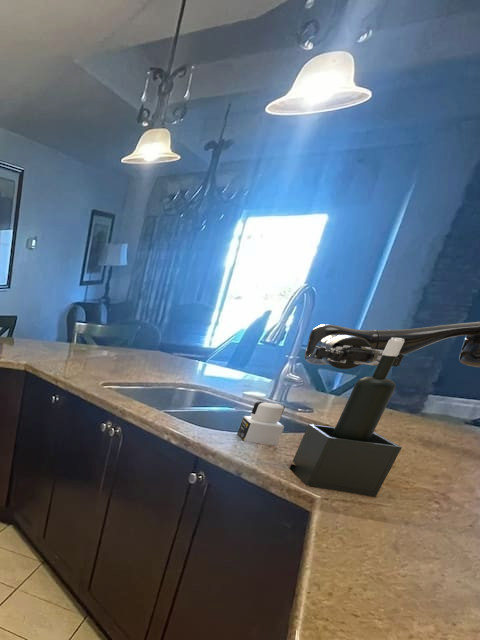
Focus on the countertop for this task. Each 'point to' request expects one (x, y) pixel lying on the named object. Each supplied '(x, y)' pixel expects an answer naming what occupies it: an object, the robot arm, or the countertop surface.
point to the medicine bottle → (262, 424)
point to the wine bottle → (368, 399)
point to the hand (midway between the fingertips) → (366, 359)
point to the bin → (343, 461)
